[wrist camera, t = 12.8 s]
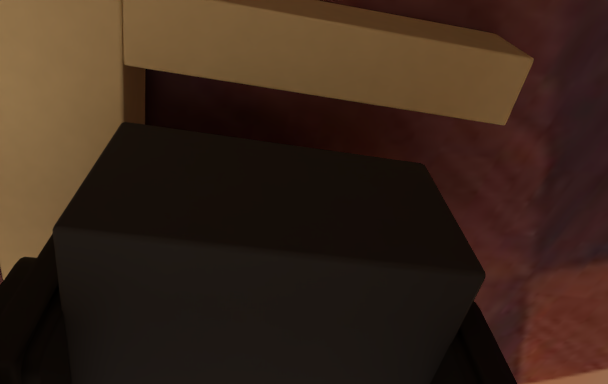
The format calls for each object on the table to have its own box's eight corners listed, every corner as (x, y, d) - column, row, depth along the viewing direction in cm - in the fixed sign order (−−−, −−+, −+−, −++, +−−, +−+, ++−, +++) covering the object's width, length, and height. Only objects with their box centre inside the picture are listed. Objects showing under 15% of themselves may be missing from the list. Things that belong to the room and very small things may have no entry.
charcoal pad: (424, 162, 10) (489, 275, 7) (355, 355, 13) (379, 489, 10) (121, 119, 9) (49, 228, 6) (125, 337, 12) (79, 478, 9)
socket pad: (496, 33, 11) (535, 58, 9) (381, 329, 16) (393, 380, 15) (-5, -62, 10) (-65, -51, 8) (45, 299, 15) (16, 351, 13)
